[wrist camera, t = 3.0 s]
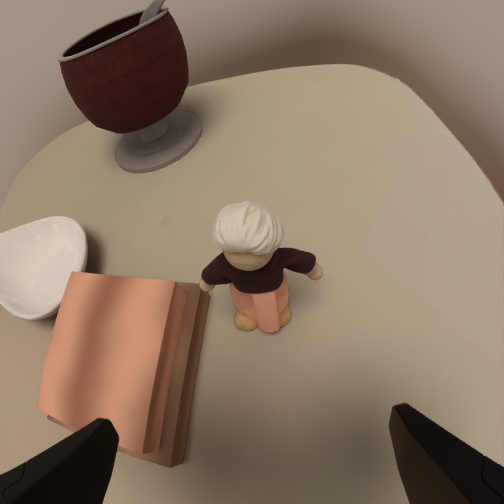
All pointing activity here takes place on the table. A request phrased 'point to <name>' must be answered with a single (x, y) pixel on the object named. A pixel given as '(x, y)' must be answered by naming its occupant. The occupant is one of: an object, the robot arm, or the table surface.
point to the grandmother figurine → (255, 265)
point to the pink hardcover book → (126, 361)
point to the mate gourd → (135, 87)
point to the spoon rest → (40, 265)
